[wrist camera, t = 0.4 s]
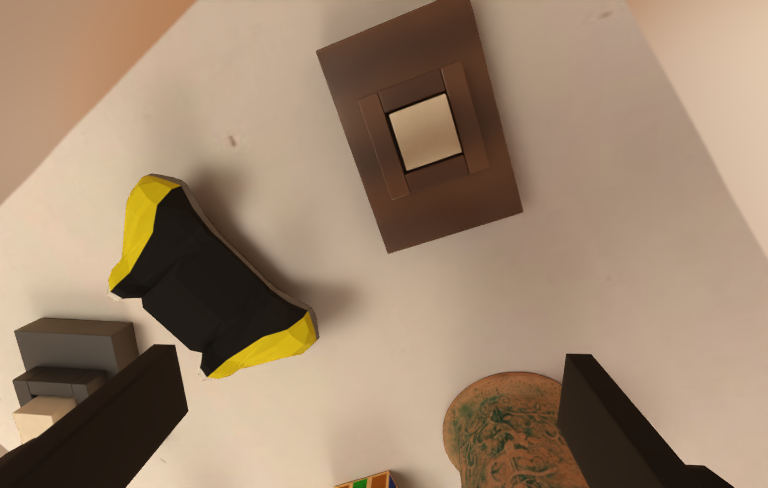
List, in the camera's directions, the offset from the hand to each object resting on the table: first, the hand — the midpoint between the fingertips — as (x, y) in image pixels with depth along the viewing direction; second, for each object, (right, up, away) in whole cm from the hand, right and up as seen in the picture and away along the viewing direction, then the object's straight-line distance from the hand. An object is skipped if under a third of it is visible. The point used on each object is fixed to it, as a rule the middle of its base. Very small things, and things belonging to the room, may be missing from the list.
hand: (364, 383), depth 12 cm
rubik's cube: (0, -19, +21) cm, 28 cm away
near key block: (+3, +12, +12) cm, 17 cm away
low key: (-24, -8, +16) cm, 30 cm away
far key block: (-24, -7, +19) cm, 32 cm away
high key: (+3, +11, +8) cm, 14 cm away
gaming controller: (-11, +2, +16) cm, 19 cm away
